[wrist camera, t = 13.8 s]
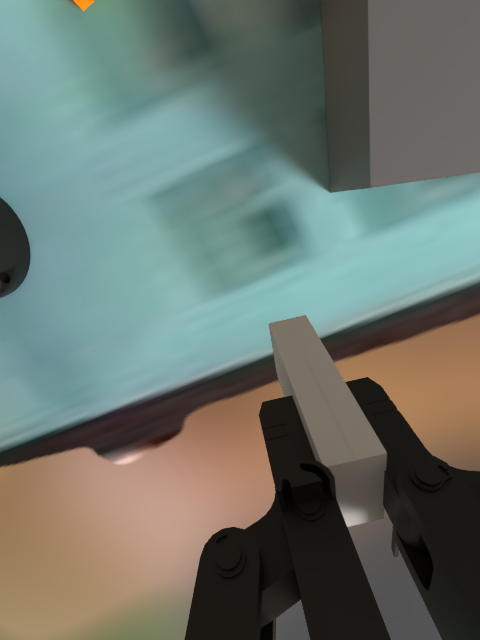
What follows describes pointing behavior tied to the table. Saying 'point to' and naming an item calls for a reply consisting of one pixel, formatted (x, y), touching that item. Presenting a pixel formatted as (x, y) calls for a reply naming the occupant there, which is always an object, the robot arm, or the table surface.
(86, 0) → the orange juice
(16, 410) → the table surface
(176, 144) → the table surface
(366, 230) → the table surface
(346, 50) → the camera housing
